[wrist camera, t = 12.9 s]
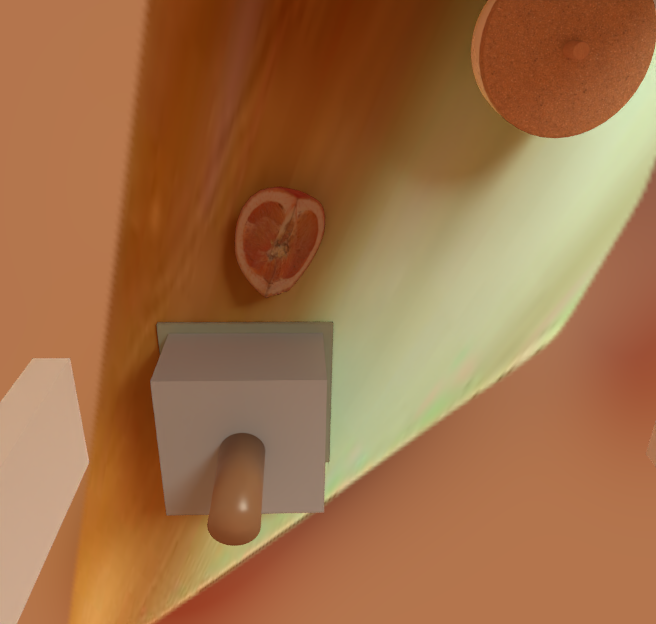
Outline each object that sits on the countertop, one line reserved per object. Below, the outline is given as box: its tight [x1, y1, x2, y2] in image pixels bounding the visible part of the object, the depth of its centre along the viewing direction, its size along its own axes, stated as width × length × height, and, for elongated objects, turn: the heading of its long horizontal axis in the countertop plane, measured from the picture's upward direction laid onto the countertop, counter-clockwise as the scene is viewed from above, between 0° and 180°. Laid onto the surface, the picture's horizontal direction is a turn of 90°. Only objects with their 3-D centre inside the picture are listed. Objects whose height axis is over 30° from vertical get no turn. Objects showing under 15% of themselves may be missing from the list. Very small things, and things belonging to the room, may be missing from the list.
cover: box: [150, 333, 327, 546], centre depth 50 cm, size 13×13×16 cm
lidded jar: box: [471, 0, 656, 138], centre depth 41 cm, size 11×11×9 cm
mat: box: [156, 322, 333, 462], centre depth 57 cm, size 15×15×1 cm
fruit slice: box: [235, 187, 325, 298], centre depth 48 cm, size 8×7×5 cm
